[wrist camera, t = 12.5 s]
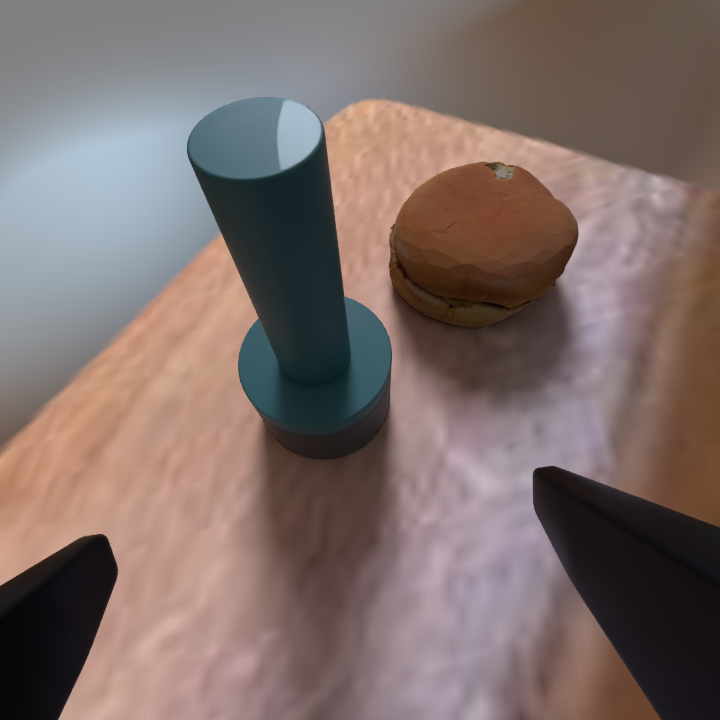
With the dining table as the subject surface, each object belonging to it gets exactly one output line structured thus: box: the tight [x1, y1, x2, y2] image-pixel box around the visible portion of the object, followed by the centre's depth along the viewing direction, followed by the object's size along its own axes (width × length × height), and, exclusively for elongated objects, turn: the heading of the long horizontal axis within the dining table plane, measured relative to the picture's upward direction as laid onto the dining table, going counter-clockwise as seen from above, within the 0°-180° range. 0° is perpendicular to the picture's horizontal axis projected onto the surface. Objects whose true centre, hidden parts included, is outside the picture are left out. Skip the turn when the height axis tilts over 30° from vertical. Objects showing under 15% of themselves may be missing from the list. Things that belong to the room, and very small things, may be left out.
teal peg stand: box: [187, 97, 392, 459], centre depth 15 cm, size 6×6×14 cm
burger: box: [389, 162, 578, 328], centre depth 23 cm, size 10×9×5 cm
